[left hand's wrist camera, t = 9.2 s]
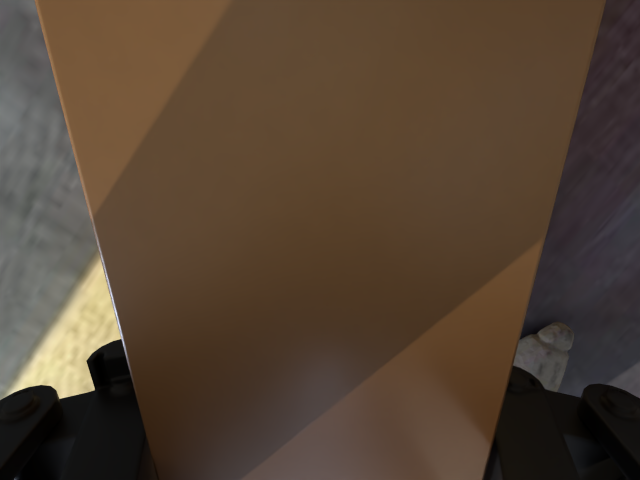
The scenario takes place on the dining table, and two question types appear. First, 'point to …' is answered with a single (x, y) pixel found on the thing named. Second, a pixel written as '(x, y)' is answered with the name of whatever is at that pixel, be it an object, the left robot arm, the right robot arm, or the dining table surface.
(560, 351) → the decorative stone
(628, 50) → the dining table surface
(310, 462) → the bar
